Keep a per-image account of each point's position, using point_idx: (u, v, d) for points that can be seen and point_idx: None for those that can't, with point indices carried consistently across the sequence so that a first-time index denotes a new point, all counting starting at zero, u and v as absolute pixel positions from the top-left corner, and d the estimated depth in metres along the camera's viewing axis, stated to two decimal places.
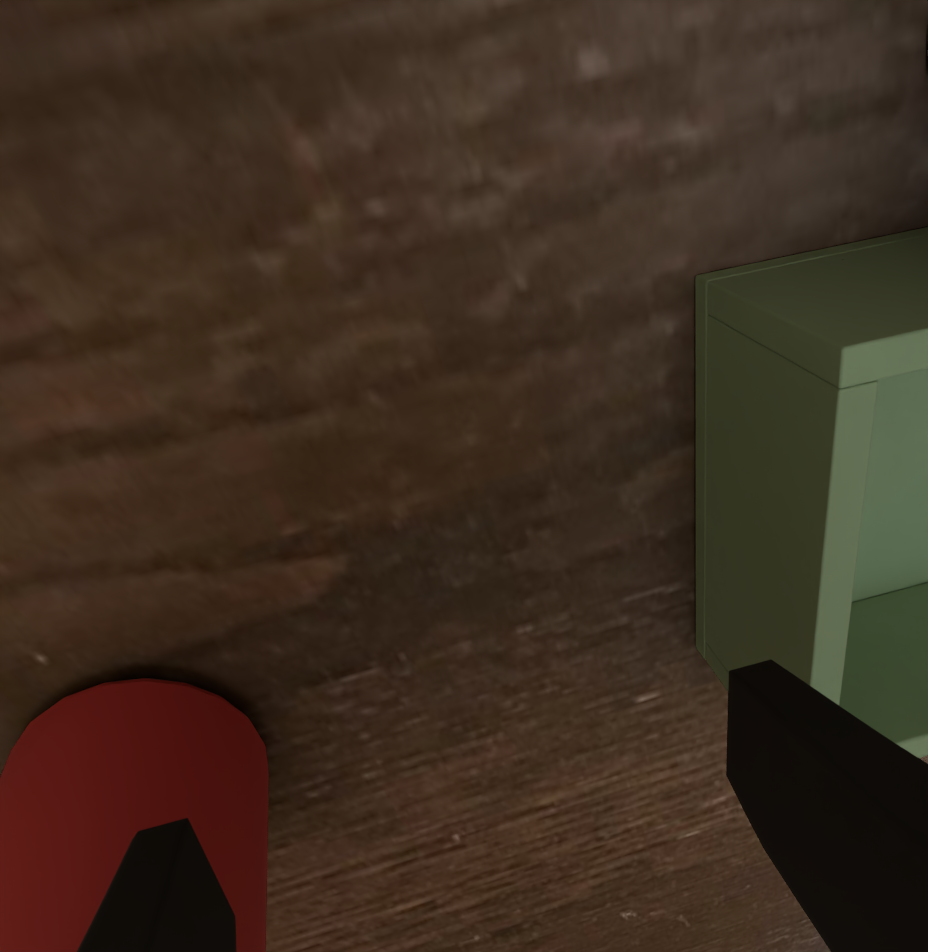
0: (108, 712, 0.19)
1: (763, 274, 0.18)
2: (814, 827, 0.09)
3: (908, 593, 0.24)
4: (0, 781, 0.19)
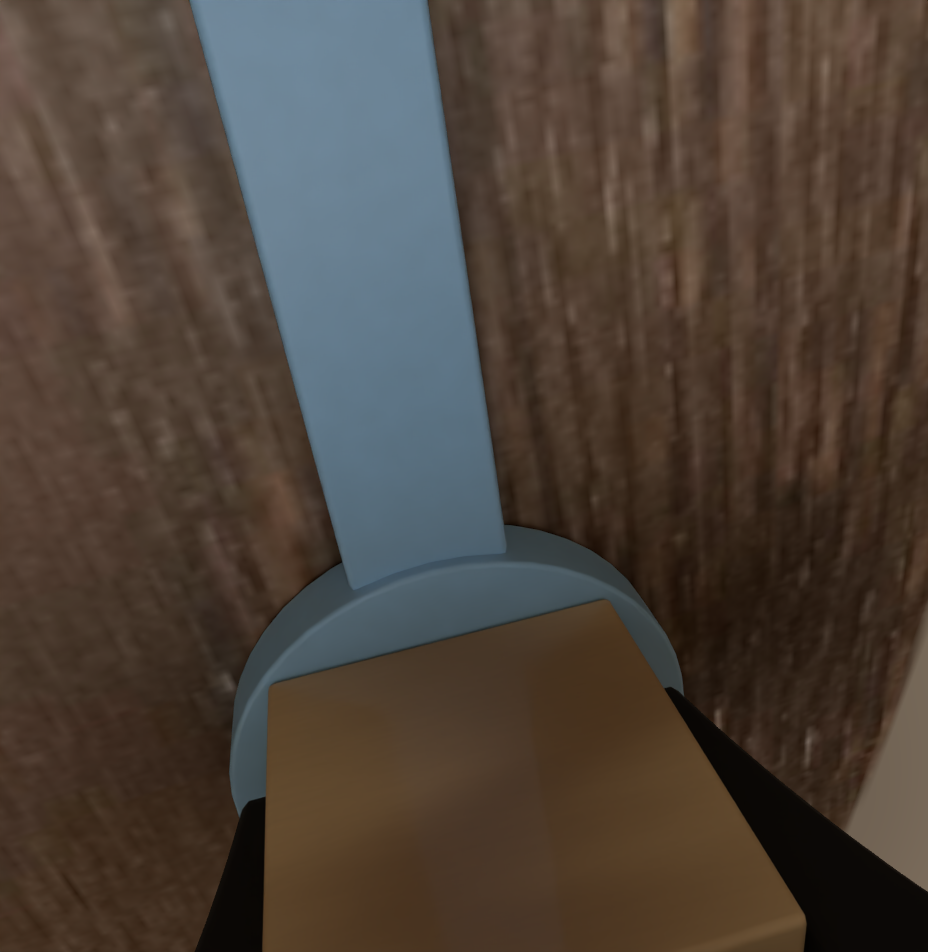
0: None
1: None
2: None
3: None
4: None
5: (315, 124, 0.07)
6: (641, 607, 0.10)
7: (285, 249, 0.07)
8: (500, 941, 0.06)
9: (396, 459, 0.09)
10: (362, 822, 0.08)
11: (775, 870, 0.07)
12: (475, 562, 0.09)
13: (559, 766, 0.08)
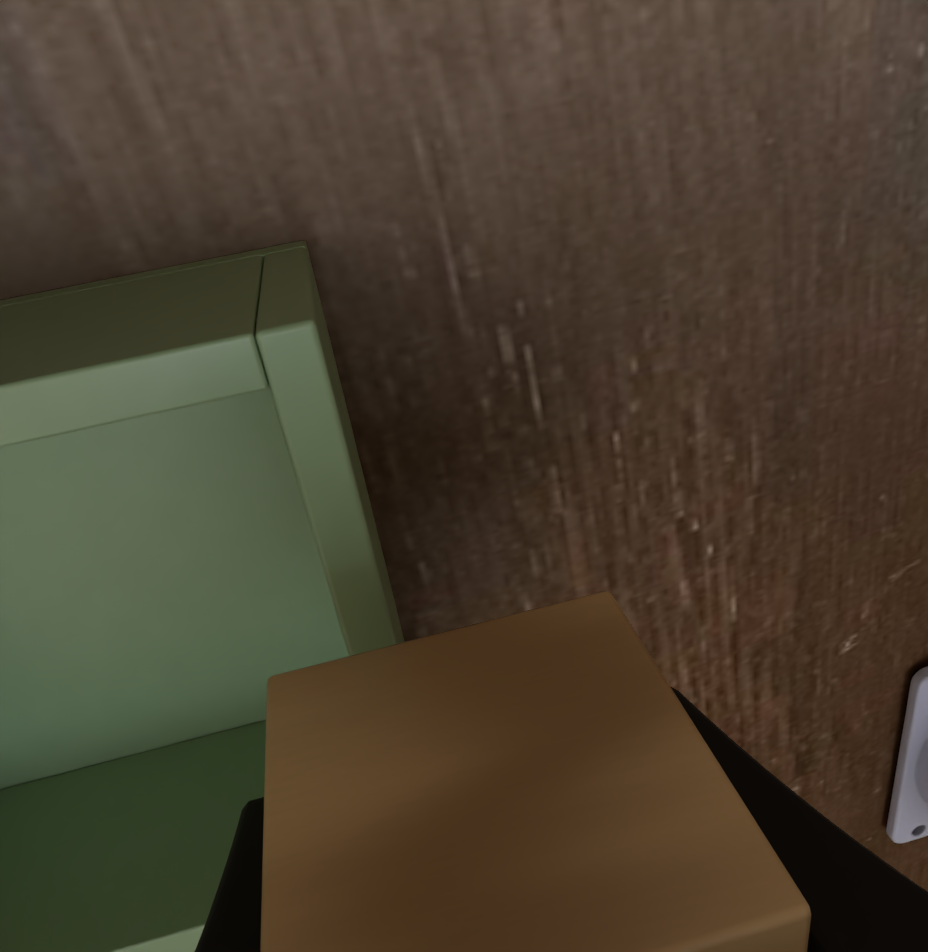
0: None
1: None
2: None
3: None
4: None
5: None
6: None
7: None
8: (501, 932, 0.06)
9: None
10: (361, 812, 0.07)
11: (779, 861, 0.06)
12: None
13: (560, 758, 0.08)
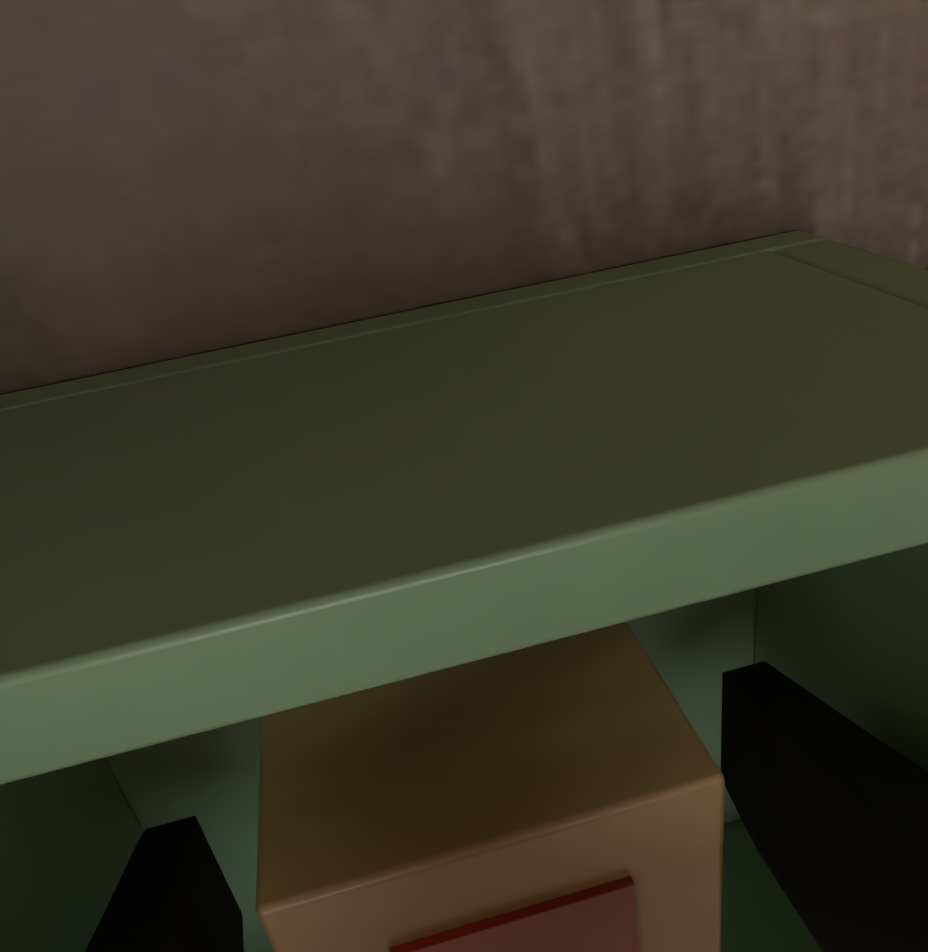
0: None
1: None
2: (806, 829, 0.09)
3: (766, 590, 0.12)
4: None
5: None
6: None
7: None
8: (462, 800, 0.07)
9: None
10: (346, 714, 0.09)
11: (701, 742, 0.08)
12: None
13: (521, 669, 0.09)
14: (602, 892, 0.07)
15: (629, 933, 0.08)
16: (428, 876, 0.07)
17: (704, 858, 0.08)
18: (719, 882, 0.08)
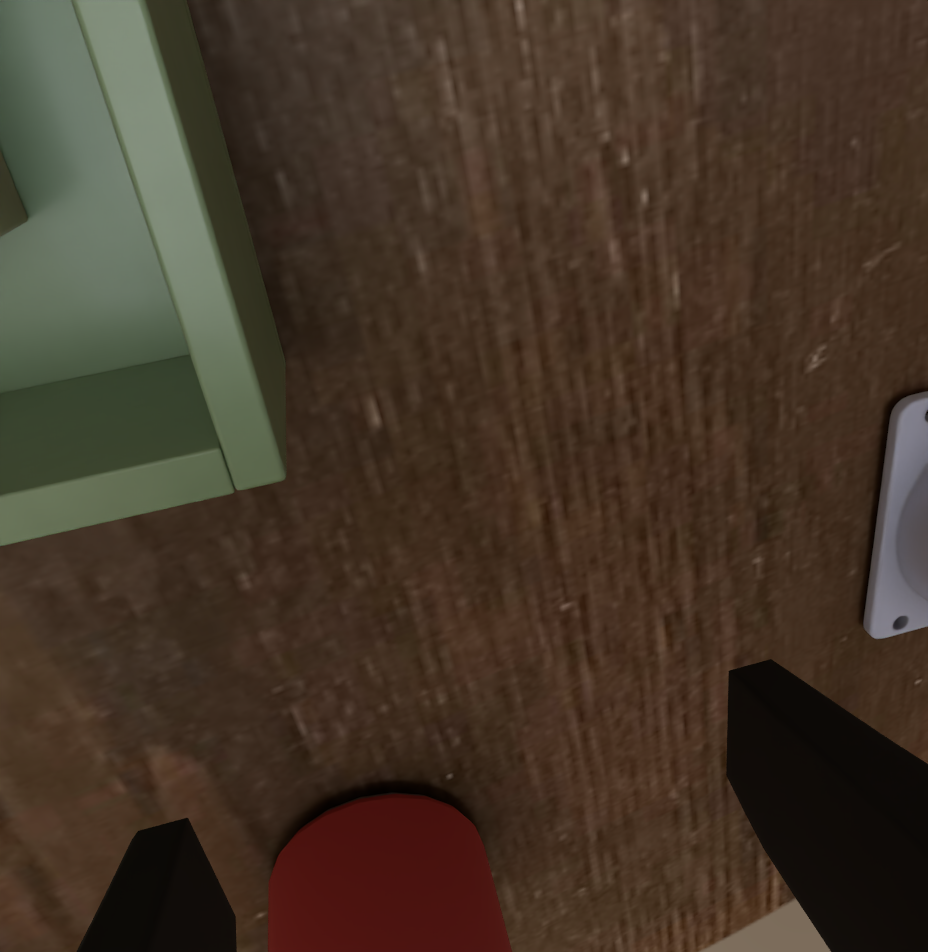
0: None
1: None
2: (814, 827, 0.09)
3: None
4: None
5: None
6: None
7: None
8: None
9: None
10: None
11: None
12: None
13: None
14: None
15: None
16: None
17: None
18: None
